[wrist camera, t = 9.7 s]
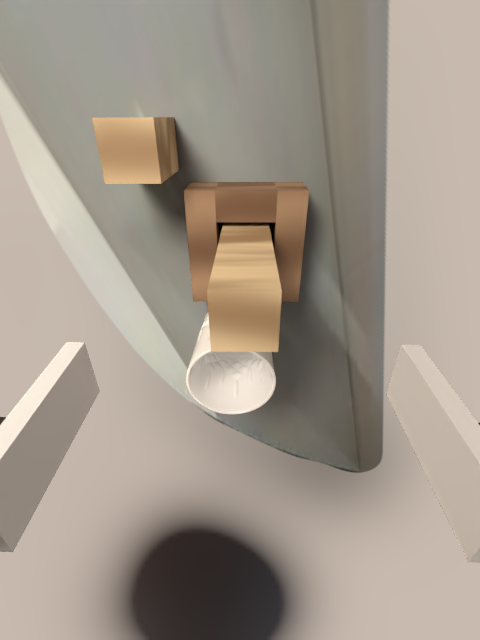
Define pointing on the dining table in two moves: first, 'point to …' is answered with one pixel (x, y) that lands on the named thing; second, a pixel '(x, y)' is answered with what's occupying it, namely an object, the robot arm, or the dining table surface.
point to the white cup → (229, 377)
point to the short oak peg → (136, 149)
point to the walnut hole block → (246, 206)
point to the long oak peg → (244, 290)
